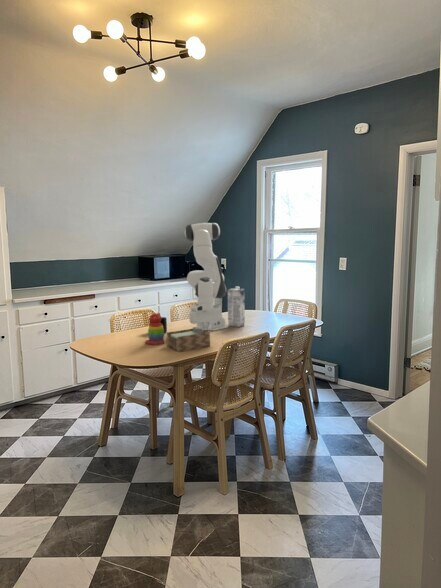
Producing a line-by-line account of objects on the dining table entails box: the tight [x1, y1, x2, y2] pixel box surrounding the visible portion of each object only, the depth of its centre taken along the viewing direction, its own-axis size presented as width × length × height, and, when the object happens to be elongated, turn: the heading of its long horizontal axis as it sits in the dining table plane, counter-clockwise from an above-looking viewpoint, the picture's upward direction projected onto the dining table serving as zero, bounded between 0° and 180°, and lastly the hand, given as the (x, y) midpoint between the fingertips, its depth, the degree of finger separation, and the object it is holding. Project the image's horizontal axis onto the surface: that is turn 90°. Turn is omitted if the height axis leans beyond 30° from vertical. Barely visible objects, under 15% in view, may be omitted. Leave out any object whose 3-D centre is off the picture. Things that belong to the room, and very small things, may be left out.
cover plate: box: [171, 326, 204, 339], centre depth 245 cm, size 17×11×4 cm, turn 123°
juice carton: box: [227, 286, 246, 328], centre depth 297 cm, size 9×10×27 cm
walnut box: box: [166, 328, 211, 353], centre depth 246 cm, size 20×14×8 cm
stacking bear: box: [144, 312, 165, 346], centre depth 254 cm, size 11×10×18 cm
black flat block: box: [149, 316, 168, 334], centre depth 280 cm, size 4×10×10 cm, turn 78°
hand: (206, 329), depth 251 cm, fingers closed
